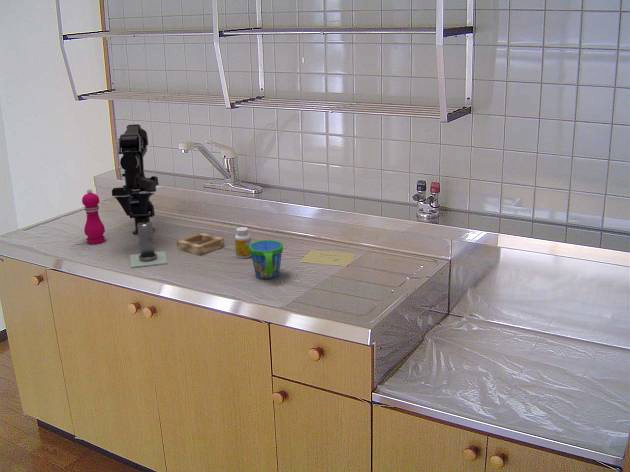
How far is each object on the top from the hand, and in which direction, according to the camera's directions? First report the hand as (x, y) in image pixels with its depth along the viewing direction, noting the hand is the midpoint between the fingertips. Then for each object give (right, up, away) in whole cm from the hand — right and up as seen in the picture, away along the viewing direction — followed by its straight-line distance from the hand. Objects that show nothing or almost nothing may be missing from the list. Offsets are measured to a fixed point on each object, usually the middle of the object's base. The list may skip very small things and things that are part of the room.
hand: (136, 214), depth 247 cm
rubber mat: (+7, -16, -10) cm, 20 cm away
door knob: (+7, -15, -10) cm, 20 cm away
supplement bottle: (+39, -15, -8) cm, 42 cm away
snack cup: (+48, -20, -26) cm, 59 cm away
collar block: (+23, -12, +1) cm, 26 cm away
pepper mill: (-18, -10, +10) cm, 23 cm away
